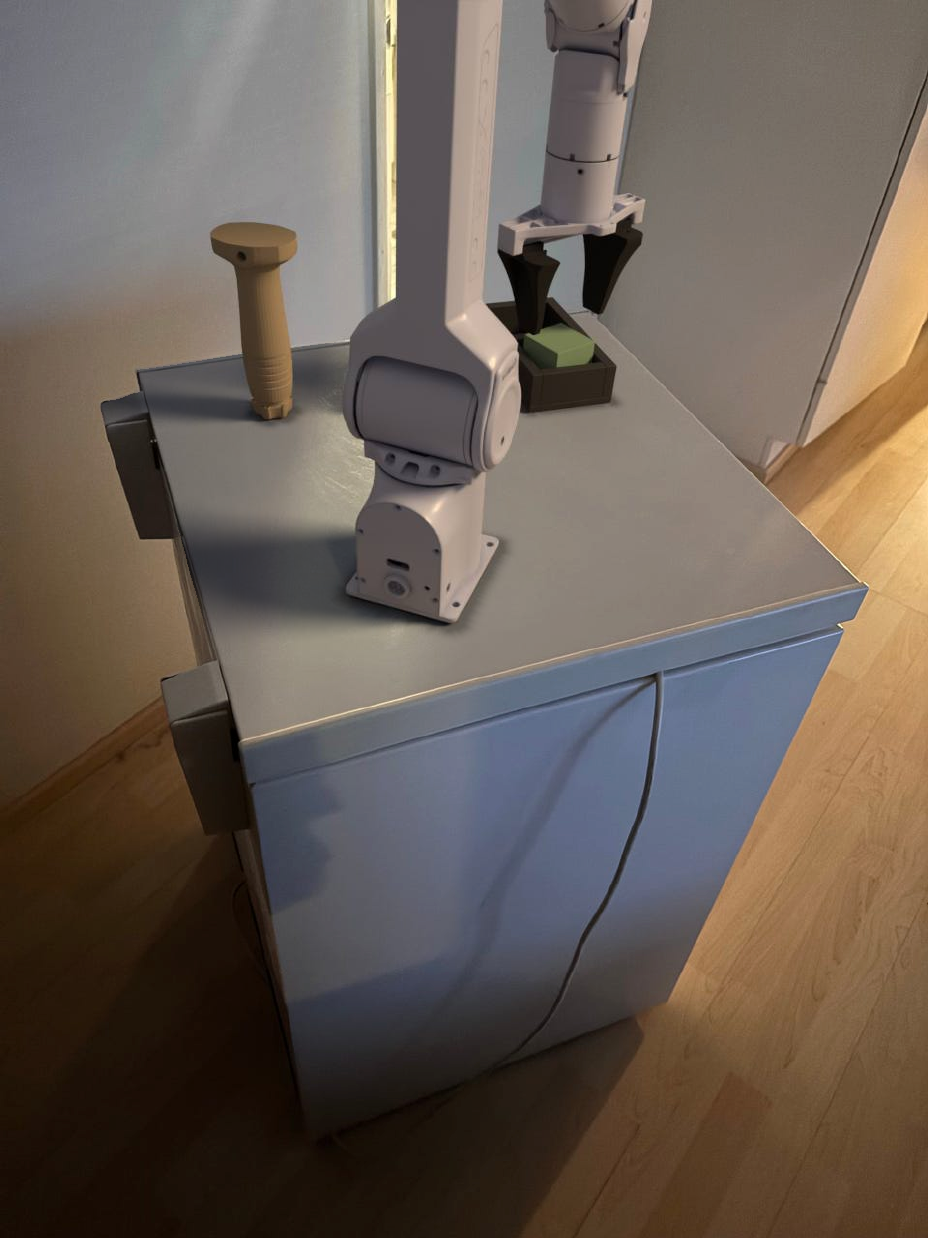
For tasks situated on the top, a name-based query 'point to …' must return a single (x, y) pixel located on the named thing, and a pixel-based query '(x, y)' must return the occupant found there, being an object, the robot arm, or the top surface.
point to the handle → (261, 308)
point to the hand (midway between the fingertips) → (561, 319)
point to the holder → (560, 382)
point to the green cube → (558, 347)
